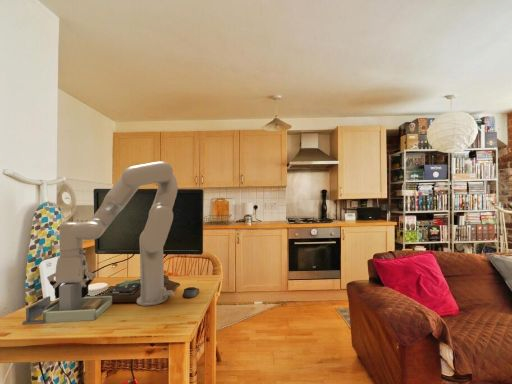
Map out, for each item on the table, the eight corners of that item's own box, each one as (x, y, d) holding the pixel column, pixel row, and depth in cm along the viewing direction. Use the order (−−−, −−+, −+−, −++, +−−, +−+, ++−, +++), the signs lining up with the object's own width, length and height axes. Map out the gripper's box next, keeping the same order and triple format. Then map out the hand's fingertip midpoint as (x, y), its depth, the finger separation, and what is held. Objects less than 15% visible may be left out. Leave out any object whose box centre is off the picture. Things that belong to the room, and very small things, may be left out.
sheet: (83, 308, 113) (83, 278, 113) (70, 318, 104) (70, 286, 104) (73, 308, 113) (72, 279, 113) (59, 318, 104) (59, 286, 104)
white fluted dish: (99, 288, 138) (99, 281, 138) (112, 291, 134) (112, 283, 134) (79, 295, 129) (79, 287, 129) (92, 298, 125) (92, 290, 125)
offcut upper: (101, 304, 113) (101, 298, 113) (93, 311, 105) (93, 305, 106) (90, 304, 112) (90, 299, 112) (81, 312, 105) (81, 306, 105)
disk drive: (132, 296, 127) (144, 285, 142) (131, 290, 127) (144, 280, 142) (109, 296, 127) (124, 285, 142) (109, 290, 127) (124, 280, 142)
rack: (112, 304, 117) (112, 294, 117) (94, 320, 102) (94, 309, 102) (67, 306, 115) (67, 296, 115) (42, 322, 100) (42, 311, 100)
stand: (69, 306, 116) (69, 294, 116) (44, 323, 100) (44, 309, 100) (50, 307, 115) (50, 294, 115) (22, 324, 99) (22, 310, 100)
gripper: (98, 250, 113) (99, 292, 113) (54, 252, 112) (54, 294, 111) (89, 254, 106) (89, 299, 105) (41, 256, 104) (41, 301, 104)
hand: (71, 296), depth 108 cm, fingers open, 9 cm apart
